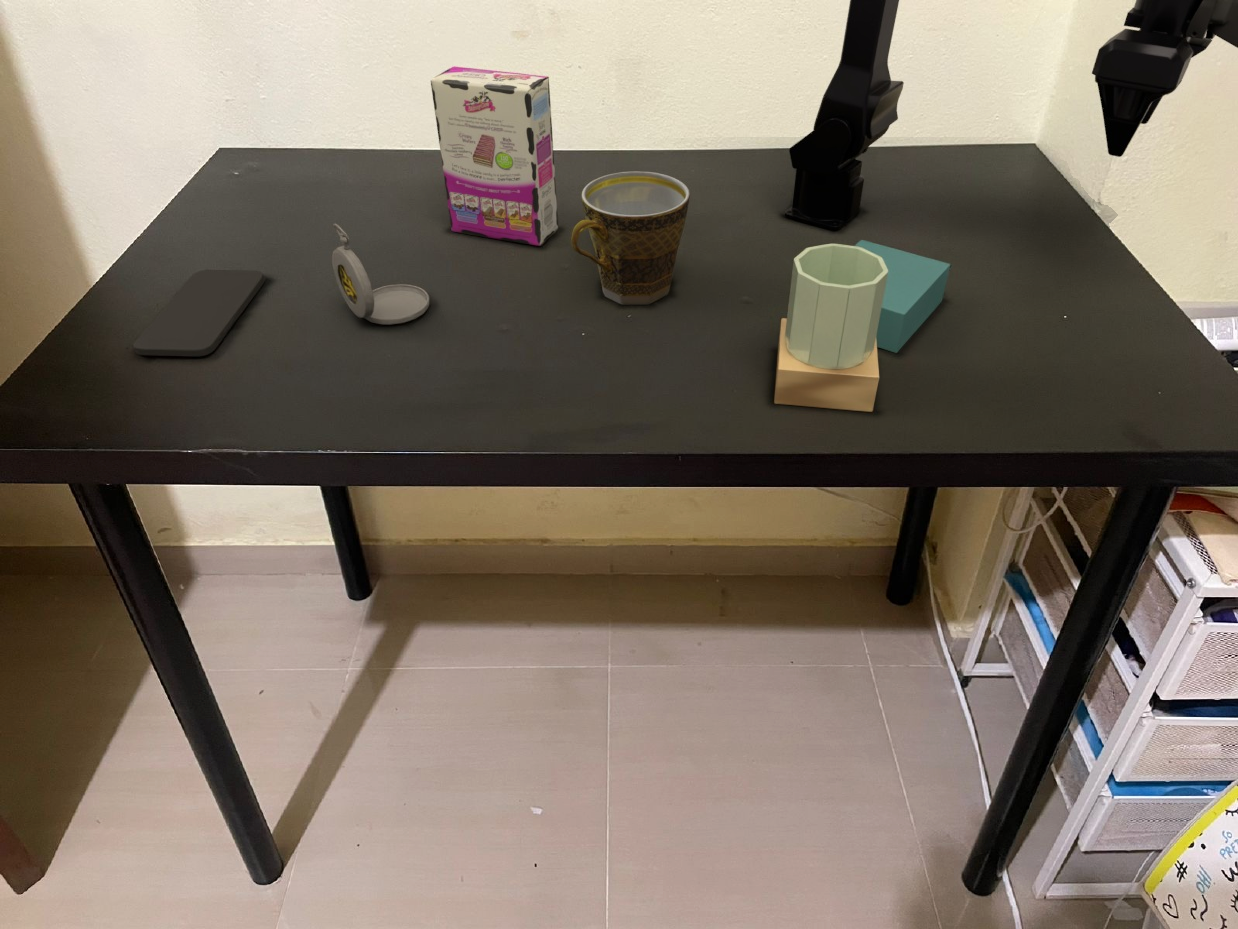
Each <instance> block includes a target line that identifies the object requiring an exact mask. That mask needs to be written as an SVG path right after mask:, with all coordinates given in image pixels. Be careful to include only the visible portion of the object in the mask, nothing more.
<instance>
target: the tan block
mask: <svg viewBox="0 0 1238 929" xmlns="http://www.w3.org/2000/svg"><path fill="white" fill-rule="evenodd" d="M786 322H787V317H786V318H785V317H782V318H781V319H780V328H779V337H778V345H777V353H776V354H777V356H776V370H775V371H776V372H775V384H774V385H775V386H774V397H773V398H774V400H773V403H774V404H775V405H787V406H798V407H807V408H808V407H810V408H821V409H822V408H823V409H831V410H833V409H834V410H843V411H855V412H856V411H857V412H866V413H872V412H873V411H874V407H875V401H876V398H877V397H876V396H877V390H878V385H879V381H880V368H879V367H880V366H879V355H878V354H879V353H878V347H877V341H876V339H875V345H874V350H873V351H872V352H871V354H870V356H869V357H868V359H867V360H866V361H864V362H863V363H861V364H859V365H857V366H854V367H851V368H846V369H823V368H818V367H814V366H810V365H808V364H805V363H803V362H801V361H799V360H798V359H796V358H795V357H794V356H792V355H791V354H790V352H789V351H788V349H787V346H786V339H785V331H786Z"/></svg>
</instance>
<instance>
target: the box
mask: <svg viewBox="0 0 1238 929" xmlns="http://www.w3.org/2000/svg"><path fill="white" fill-rule="evenodd" d="M854 246H857V247H862V248H864V249H866V250H868V251H870V252H872V253H874V254H876V255H878V256H880V257H882V258H883V260H884V263H885V265H886V267H887V269H888V276H887V281H886V287H885V292H884V297H883V302H882V308H881V313H880V318H879V324H878V329H877V334H876V341H877V348H879V349H883V350H885V351H888V352H892V353H894V354H897V353H898V352H899V351H900V350H901V349H902V348H903V347H904V345H905V344H906V343H907V342H908V341H909V340H910V339H911V337H913V335H914V334H915V333H916V332H917V330H919V328H921V326H922V325H923V324H924V323H925V321H926V320H928V318H929V317H930V316H931V315H932V313H933V312H934V311H935V310H936V309H937V308H938V306H940V304H942V302H943V299H944V294H945V291H946V290H945V289H946V286H947V283H948V282H947V281H948V277H949V273H950V270H951V263H948V262H945V261H941V260H937V259H933V258H930V257H927V256H923V255H919V254H915V253H911V252H908V251H906V250H905V251H904V250H901V249H897V248H893V247H889V246H886V245H883V244H879V243H875V242H871V241H868V240H865V239H860V240H859V241H858V242H857V243H856V244H855V245H854Z"/></svg>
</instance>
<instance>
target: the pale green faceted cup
mask: <svg viewBox="0 0 1238 929" xmlns="http://www.w3.org/2000/svg"><path fill="white" fill-rule="evenodd" d="M791 272H792V273H791V280H790V290H789V297H788V307H787V314H786V318H787V322H786V331H785V339H786V346H787V349H788V351H789V352H790V354H791V355H792V356H794V357H795V358H796V359H798V360H799V361H801V362H803V363H805V364H808V365H810V366H814V367H818V368H823V369H846V368H851V367H854V366H857V365H859V364H861V363H863V362H864V361H866V360H867V359H868V357H869V356H870V354H871V352H872V351H873V350H874V345H875V339H876V334H877V329H878V324H879V318H880V313H881V308H882V302H883V297H884V292H885V287H886V281H887V276H888V269H887V267H886V265H885V263H884V260H883V258H882V257H880V256H878V255H876V254H874V253H872V252H870V251H868V250H866V249H864V248H862V247H857V246H855V245H849V244H841V243H826V244H821V245H814V246H810V247H806V248H804V249H803V250H802V251H801V252H800V253H799V254H797V255H796V256H795V257H794V258H793V262H792V271H791Z"/></svg>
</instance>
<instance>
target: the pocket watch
mask: <svg viewBox="0 0 1238 929" xmlns="http://www.w3.org/2000/svg"><path fill="white" fill-rule="evenodd" d="M332 226H333V228H334V230H335V232H336V233H337V235H338V236H339V241H340V242H341V243H342V245H340V246H338V247H336V249H334V250H333V251H332V255H331V263H332V269H333V274H334V277H335V281H336V284H337V286H338V289H339V291H340V293H341V295H342V297H343V299H344V301H345V303H346V304H347V306H348V307H349V309H350V310H351V311H352V313H353V314H354V315H355V316H357V317H358V318H361V319H362V318H363V319H365V320H367V321H368V322H370V323H372V324H373V323H374V324H377V325H389V326H393V325H400V324H405V323H407V322H410V321H413V320H416V319H417V318H419V317H420V316H422V315H424V313H425V312H426V311H427V310H428V308H429V306H430V296H429V294H428V292H427V291H426V290H425V289H424V288H422V287H419V286H417V285H413V284H405V283H404V284H403V283H401V284H400V283H399V284H389V285H384V286H380V287H377V288H375V289H373V288H372V283H371V280H370V277H369V275H368V273H367V270H366V269H365V267H364V265H363V264H362V262H361V260H360V259H359V257H358V256H357V255H356V254H355V252H354V251H353V250H352V249H351V247H350V242H351V239H350V237H349V235H347V232H346V231H344V229H343V228H342V227H341V226H340V225H339V224H337V223H336V222H335V223H333V225H332Z"/></svg>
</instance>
